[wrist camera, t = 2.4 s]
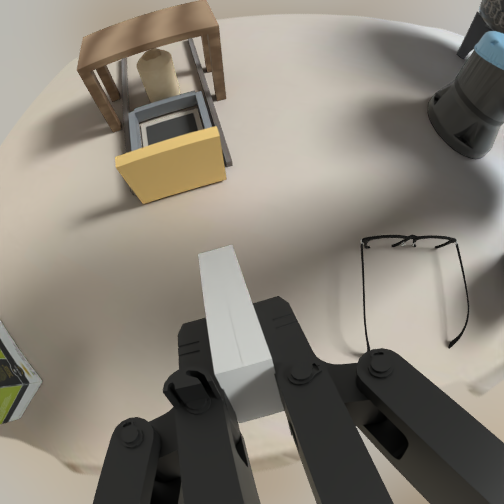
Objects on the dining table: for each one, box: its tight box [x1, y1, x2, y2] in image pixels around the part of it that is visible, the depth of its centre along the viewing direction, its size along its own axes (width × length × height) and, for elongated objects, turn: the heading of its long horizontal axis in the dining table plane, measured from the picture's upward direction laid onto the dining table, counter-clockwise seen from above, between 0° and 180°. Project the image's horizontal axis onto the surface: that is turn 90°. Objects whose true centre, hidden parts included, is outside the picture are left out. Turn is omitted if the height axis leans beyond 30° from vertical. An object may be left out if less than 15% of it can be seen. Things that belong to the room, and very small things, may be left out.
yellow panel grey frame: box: [115, 91, 226, 204], centre depth 38 cm, size 12×16×10 cm
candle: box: [137, 48, 180, 103], centre depth 42 cm, size 6×6×10 cm
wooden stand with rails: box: [77, 0, 232, 195], centre depth 39 cm, size 20×34×15 cm, turn 16°
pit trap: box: [141, 108, 203, 147], centre depth 44 cm, size 10×12×1 cm
